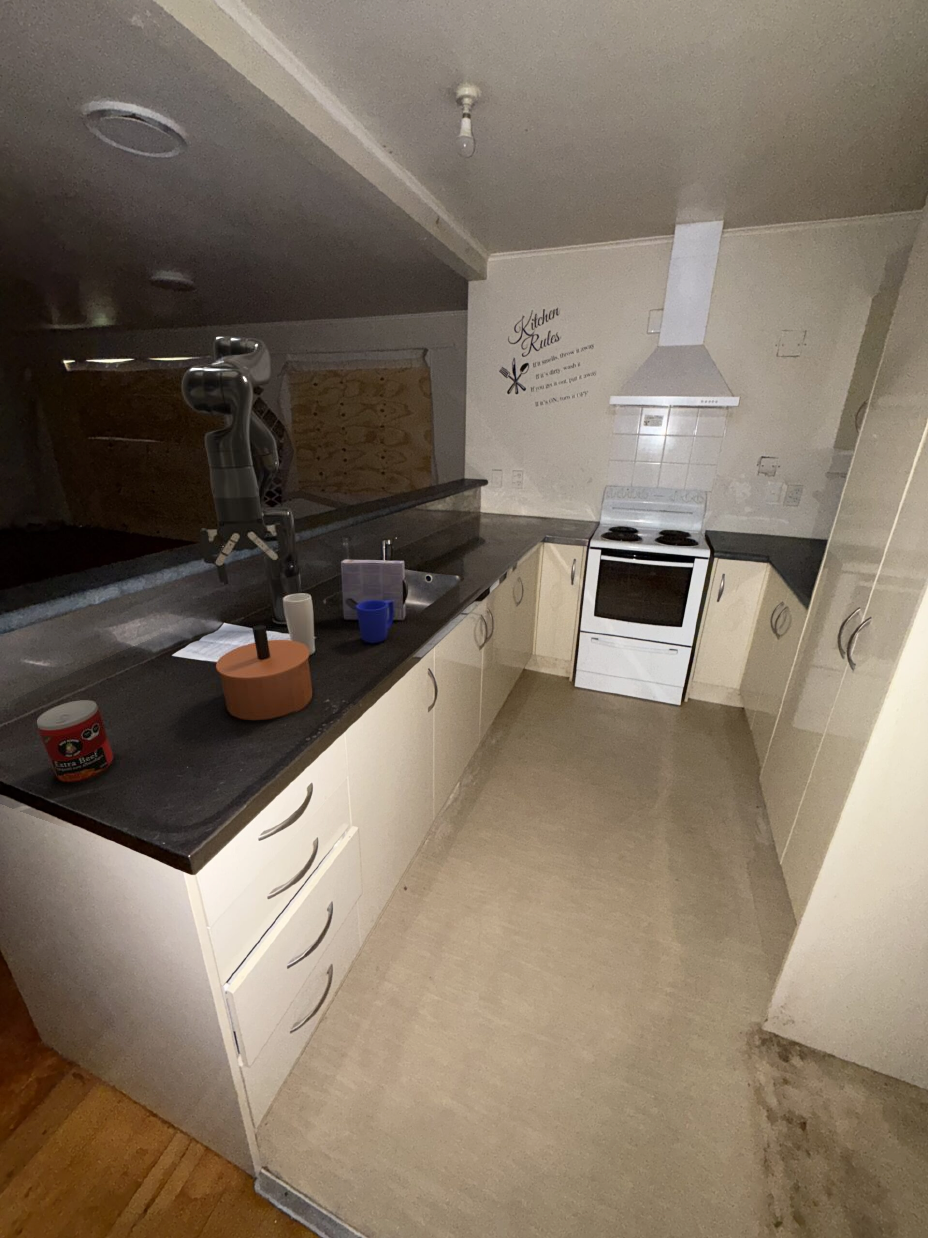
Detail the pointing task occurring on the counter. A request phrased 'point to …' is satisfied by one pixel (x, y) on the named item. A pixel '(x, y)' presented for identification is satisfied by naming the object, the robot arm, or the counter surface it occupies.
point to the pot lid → (262, 658)
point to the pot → (268, 694)
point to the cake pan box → (373, 585)
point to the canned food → (75, 740)
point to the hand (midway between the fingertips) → (250, 580)
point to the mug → (374, 619)
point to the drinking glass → (300, 619)
